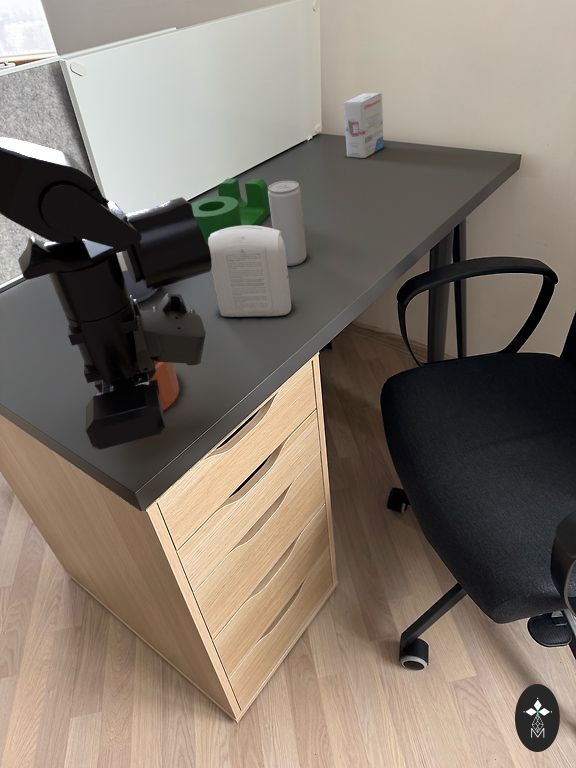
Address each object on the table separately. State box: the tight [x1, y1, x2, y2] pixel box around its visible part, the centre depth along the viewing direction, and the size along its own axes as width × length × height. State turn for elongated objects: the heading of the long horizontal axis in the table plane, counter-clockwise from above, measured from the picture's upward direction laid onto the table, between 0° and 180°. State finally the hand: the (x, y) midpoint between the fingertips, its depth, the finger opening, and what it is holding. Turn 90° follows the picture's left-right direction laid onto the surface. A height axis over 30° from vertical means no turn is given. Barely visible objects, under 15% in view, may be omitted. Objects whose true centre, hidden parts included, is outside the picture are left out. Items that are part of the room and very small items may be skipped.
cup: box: [93, 360, 180, 411], centre depth 66 cm, size 9×9×6 cm
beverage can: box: [267, 180, 307, 267], centre depth 88 cm, size 5×5×12 cm
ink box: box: [343, 92, 384, 159], centre depth 128 cm, size 9×5×12 cm, turn 141°
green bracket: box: [190, 177, 271, 243], centre depth 102 cm, size 18×9×6 cm, turn 160°
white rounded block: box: [208, 225, 292, 318], centre depth 76 cm, size 10×4×12 cm, turn 83°
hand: (144, 434), depth 59 cm, fingers closed
